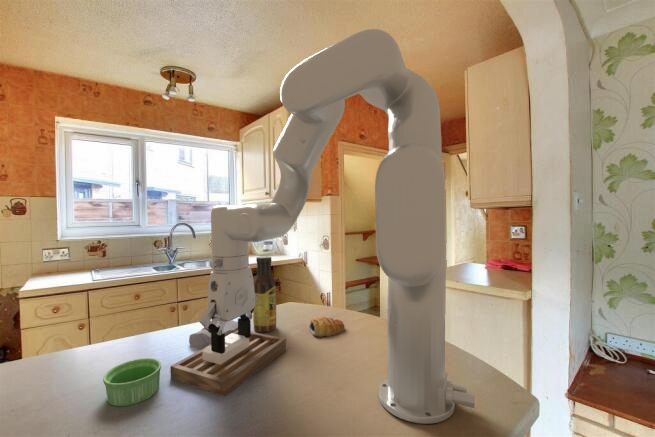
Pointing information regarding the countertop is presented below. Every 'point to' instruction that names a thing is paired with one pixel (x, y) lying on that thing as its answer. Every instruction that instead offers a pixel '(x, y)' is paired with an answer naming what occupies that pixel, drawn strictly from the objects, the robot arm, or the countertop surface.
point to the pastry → (325, 326)
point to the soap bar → (226, 349)
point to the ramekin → (132, 381)
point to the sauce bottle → (264, 296)
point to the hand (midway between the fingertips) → (232, 343)
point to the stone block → (204, 337)
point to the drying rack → (228, 365)
